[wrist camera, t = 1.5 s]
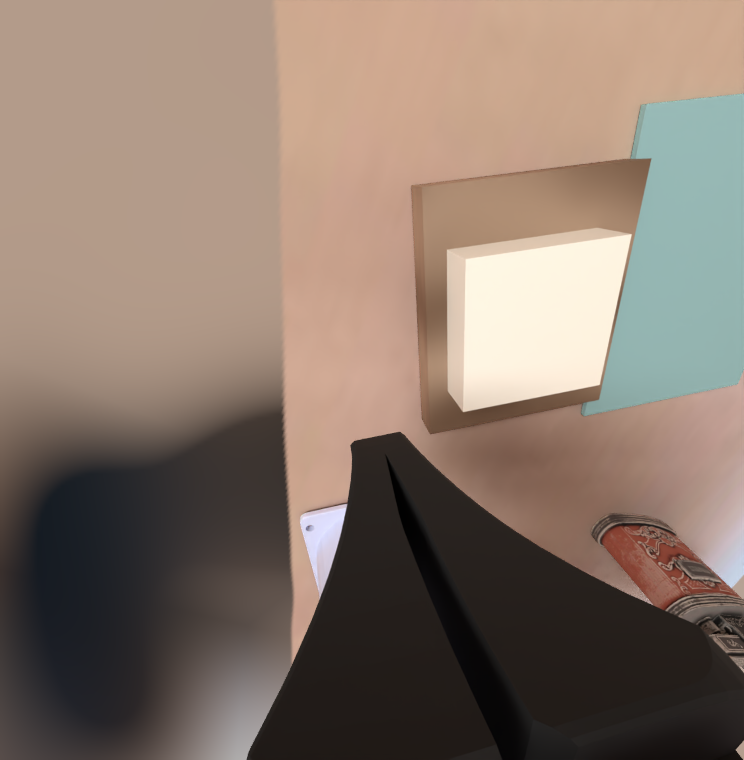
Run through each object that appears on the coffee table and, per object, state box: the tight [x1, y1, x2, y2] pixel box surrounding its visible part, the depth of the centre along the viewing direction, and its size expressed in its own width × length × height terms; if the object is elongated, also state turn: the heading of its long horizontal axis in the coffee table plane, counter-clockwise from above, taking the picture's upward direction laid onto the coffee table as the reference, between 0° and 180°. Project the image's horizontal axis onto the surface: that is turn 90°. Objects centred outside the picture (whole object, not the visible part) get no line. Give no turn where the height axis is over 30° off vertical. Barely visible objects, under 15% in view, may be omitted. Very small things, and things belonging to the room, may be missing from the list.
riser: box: [411, 158, 652, 434], centre depth 19 cm, size 12×10×2 cm
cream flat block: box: [447, 228, 632, 412], centre depth 18 cm, size 7×7×2 cm
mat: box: [581, 94, 744, 416], centre depth 21 cm, size 16×11×1 cm
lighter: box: [591, 514, 744, 669], centre depth 27 cm, size 8×3×10 cm, turn 68°
